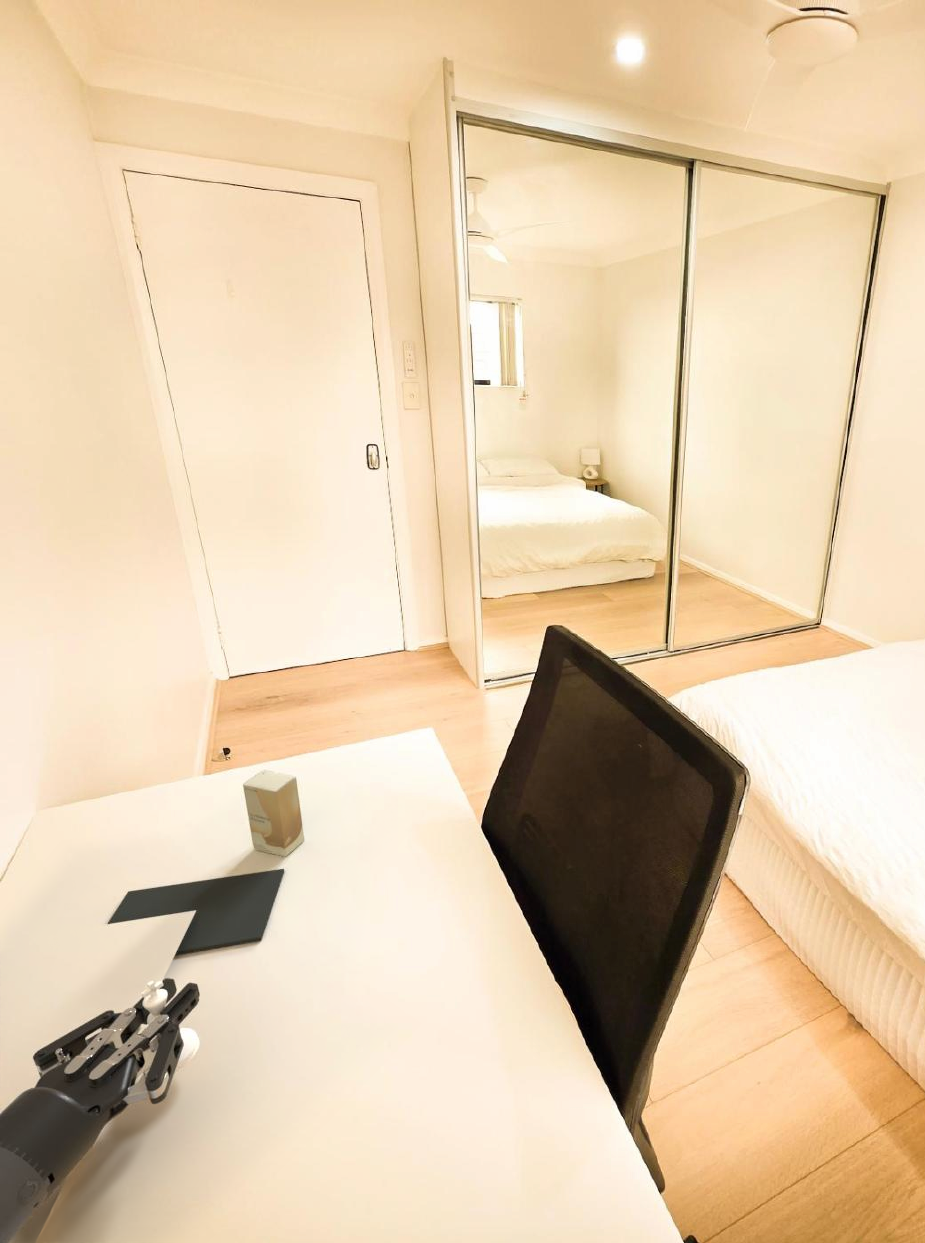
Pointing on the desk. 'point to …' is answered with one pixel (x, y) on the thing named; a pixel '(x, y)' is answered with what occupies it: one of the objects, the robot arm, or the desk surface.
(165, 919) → the desk surface
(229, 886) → the mat
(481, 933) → the desk surface
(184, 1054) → the chess piece
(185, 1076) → the desk surface
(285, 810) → the cosmetic box
